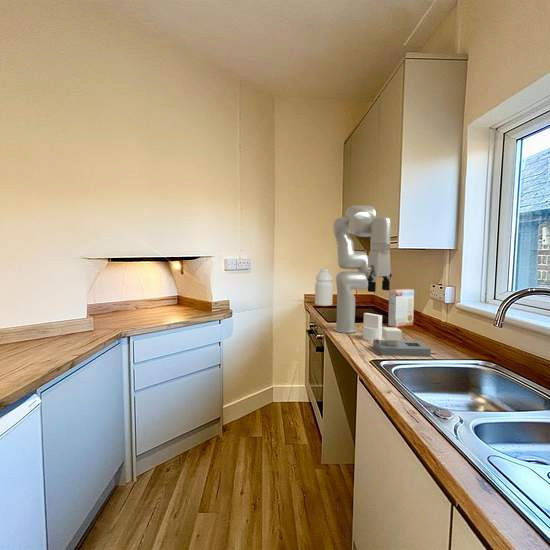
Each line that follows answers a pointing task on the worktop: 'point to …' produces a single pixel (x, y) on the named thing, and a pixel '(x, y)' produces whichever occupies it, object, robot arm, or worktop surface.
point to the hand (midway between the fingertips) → (378, 290)
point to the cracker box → (401, 307)
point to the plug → (391, 335)
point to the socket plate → (402, 348)
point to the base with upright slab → (372, 327)
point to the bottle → (324, 288)
